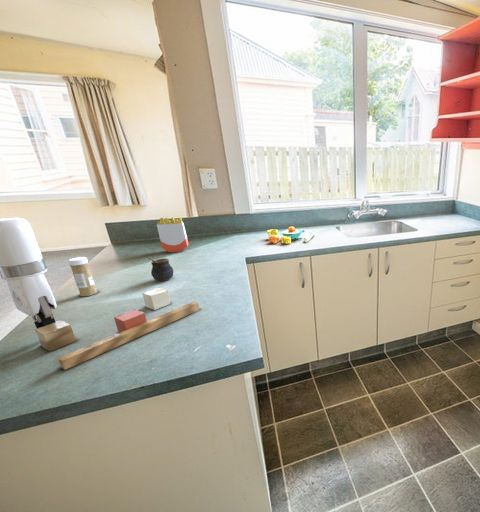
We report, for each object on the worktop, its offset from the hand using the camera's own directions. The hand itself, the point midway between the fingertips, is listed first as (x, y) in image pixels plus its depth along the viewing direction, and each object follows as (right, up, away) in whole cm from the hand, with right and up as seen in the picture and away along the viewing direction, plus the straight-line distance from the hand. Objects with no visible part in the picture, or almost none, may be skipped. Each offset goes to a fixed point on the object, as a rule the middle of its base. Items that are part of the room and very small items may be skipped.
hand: (49, 332), depth 79 cm
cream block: (+15, +4, +19) cm, 24 cm away
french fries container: (-20, +23, +76) cm, 82 cm away
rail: (+22, -1, +3) cm, 23 cm away
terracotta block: (+19, -1, +4) cm, 19 cm away
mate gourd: (+1, +11, +40) cm, 41 cm away
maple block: (+5, -2, -2) cm, 5 cm away
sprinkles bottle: (-16, +7, +26) cm, 31 cm away
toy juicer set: (+35, +30, +99) cm, 109 cm away
